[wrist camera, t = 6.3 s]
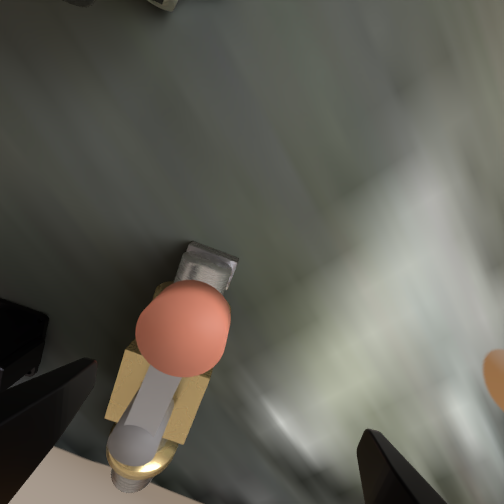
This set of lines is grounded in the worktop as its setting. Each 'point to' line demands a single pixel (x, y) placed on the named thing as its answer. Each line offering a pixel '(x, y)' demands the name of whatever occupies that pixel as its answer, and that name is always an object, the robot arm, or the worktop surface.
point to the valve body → (190, 388)
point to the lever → (169, 362)
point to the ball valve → (168, 3)
